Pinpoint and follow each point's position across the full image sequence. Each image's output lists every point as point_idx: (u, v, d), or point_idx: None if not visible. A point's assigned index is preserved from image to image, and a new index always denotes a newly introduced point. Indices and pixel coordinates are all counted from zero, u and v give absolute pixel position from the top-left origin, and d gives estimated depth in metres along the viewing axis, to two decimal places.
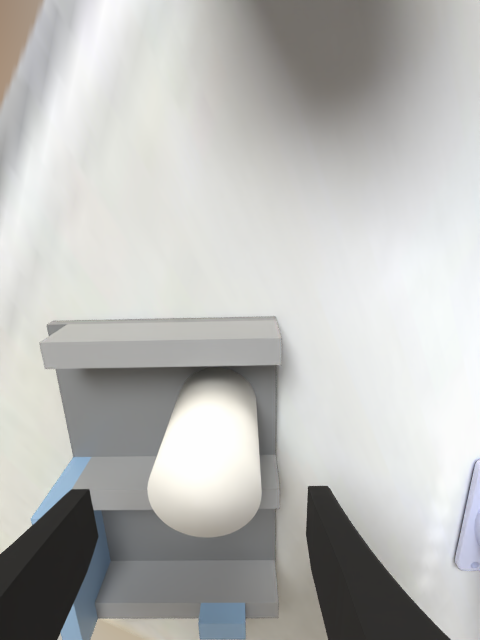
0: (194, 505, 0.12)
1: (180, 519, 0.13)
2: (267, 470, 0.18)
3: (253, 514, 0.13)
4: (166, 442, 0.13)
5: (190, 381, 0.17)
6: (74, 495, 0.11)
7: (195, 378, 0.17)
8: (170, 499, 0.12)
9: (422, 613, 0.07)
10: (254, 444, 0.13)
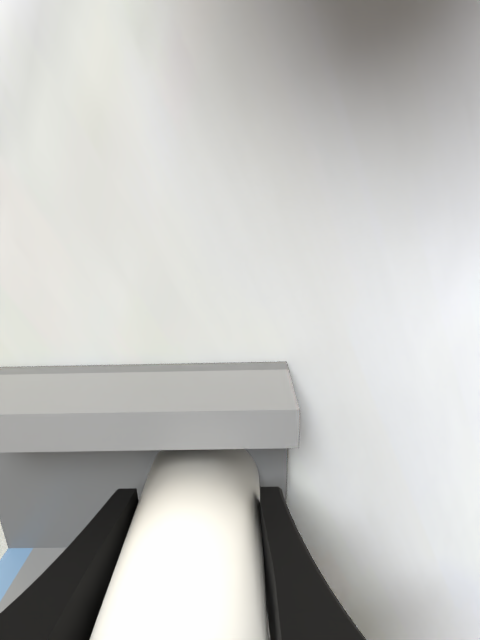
0: None
1: None
2: None
3: None
4: (111, 598, 0.08)
5: (164, 456, 0.12)
6: (123, 494, 0.11)
7: (172, 451, 0.12)
8: None
9: (344, 614, 0.07)
10: (258, 589, 0.08)
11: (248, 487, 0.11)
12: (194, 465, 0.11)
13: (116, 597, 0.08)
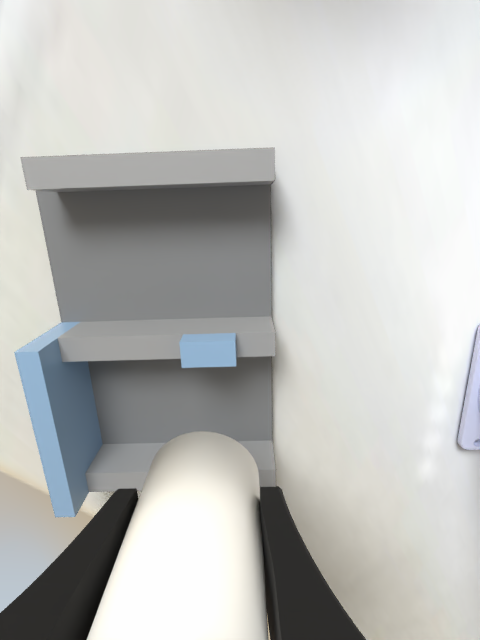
0: None
1: None
2: (262, 323, 0.17)
3: None
4: (111, 591, 0.08)
5: (164, 454, 0.12)
6: (123, 494, 0.11)
7: (172, 448, 0.12)
8: None
9: (344, 614, 0.07)
10: (258, 584, 0.08)
11: (248, 484, 0.11)
12: (194, 462, 0.11)
13: (116, 591, 0.08)
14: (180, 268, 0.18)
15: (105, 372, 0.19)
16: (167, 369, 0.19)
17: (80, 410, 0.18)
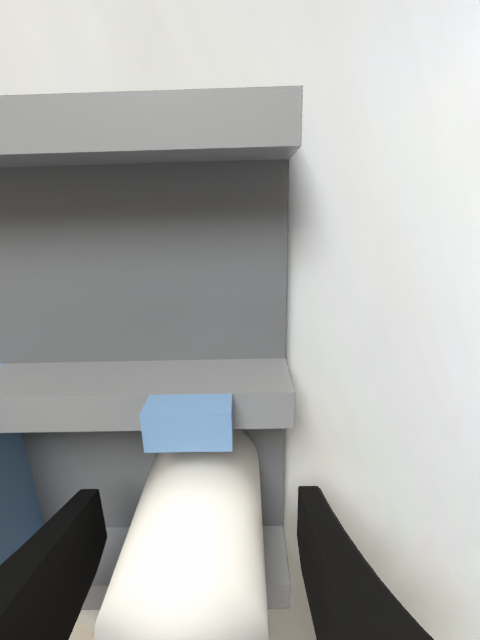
0: None
1: None
2: (273, 373, 0.11)
3: None
4: (125, 557, 0.09)
5: None
6: (84, 495, 0.11)
7: None
8: None
9: (406, 613, 0.07)
10: (257, 552, 0.09)
11: (248, 466, 0.12)
12: None
13: (130, 556, 0.08)
14: (150, 287, 0.12)
15: (44, 434, 0.13)
16: (133, 431, 0.13)
17: (2, 495, 0.12)
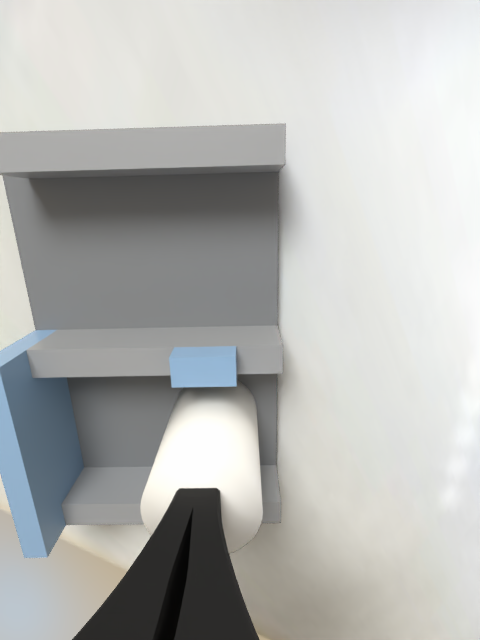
0: None
1: None
2: (267, 334, 0.15)
3: (254, 534, 0.12)
4: (161, 456, 0.12)
5: (187, 388, 0.16)
6: (187, 494, 0.11)
7: None
8: None
9: (244, 614, 0.07)
10: (255, 458, 0.13)
11: (248, 407, 0.15)
12: (210, 391, 0.15)
13: (164, 455, 0.12)
14: (172, 269, 0.15)
15: (86, 387, 0.17)
16: (157, 384, 0.17)
17: (56, 432, 0.16)
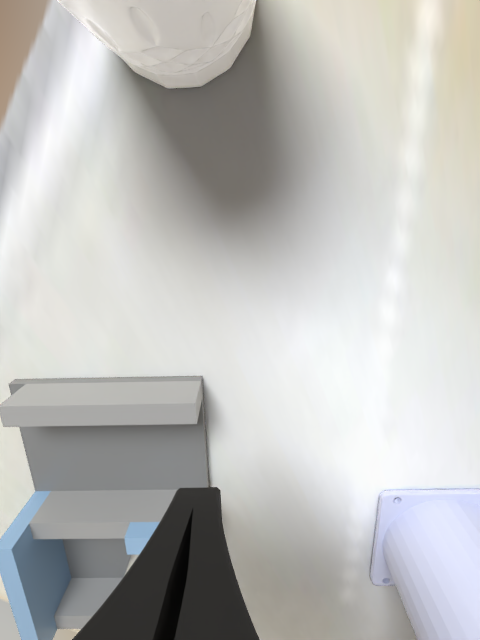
0: None
1: None
2: None
3: None
4: None
5: None
6: (187, 494, 0.11)
7: None
8: None
9: (244, 614, 0.07)
10: None
11: None
12: None
13: None
14: (131, 455, 0.21)
15: None
16: None
17: (50, 565, 0.22)
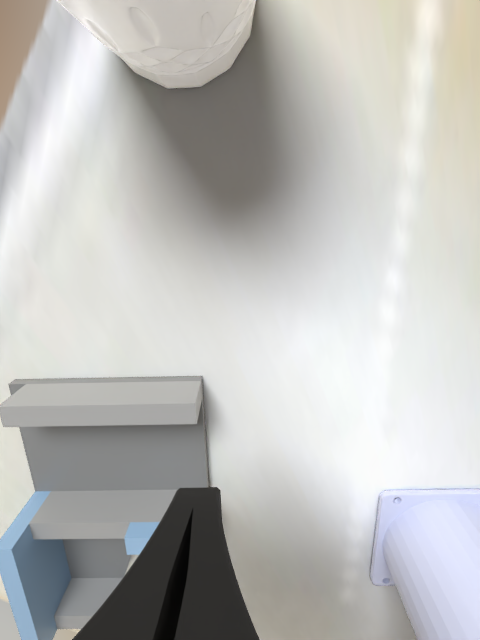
0: None
1: None
2: None
3: None
4: None
5: None
6: (187, 494, 0.11)
7: None
8: None
9: (244, 614, 0.07)
10: None
11: None
12: None
13: None
14: (131, 455, 0.21)
15: None
16: None
17: (50, 566, 0.22)
